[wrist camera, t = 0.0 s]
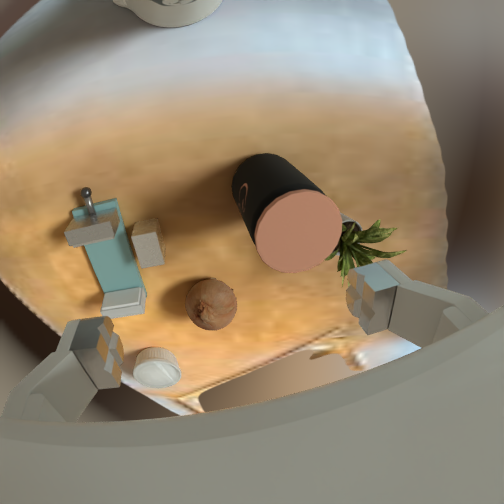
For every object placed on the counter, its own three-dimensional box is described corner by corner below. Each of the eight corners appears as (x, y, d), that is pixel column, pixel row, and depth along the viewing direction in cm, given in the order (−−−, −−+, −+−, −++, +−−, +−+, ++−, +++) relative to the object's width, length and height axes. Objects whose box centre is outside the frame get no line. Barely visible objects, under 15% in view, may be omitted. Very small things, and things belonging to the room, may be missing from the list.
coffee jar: (222, 163, 46) (243, 210, 31) (286, 143, 46) (337, 179, 31) (240, 220, 52) (267, 285, 37) (298, 200, 52) (346, 256, 37)
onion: (189, 275, 59) (170, 295, 50) (234, 268, 57) (222, 287, 48) (202, 318, 61) (186, 343, 52) (246, 312, 60) (236, 338, 50)
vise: (74, 208, 44) (62, 225, 38) (116, 198, 45) (108, 214, 40) (110, 299, 55) (105, 321, 49) (147, 293, 56) (145, 315, 51)
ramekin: (188, 353, 67) (190, 370, 63) (166, 376, 71) (167, 393, 66) (145, 337, 62) (145, 355, 58) (127, 362, 65) (125, 379, 61)
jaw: (64, 191, 40) (53, 204, 36) (108, 179, 41) (101, 191, 37) (79, 233, 45) (70, 249, 40) (121, 224, 46) (115, 239, 42)
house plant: (352, 258, 62) (392, 308, 49) (292, 260, 59) (325, 318, 45) (369, 195, 55) (422, 237, 41) (305, 191, 51) (350, 237, 38)
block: (135, 222, 48) (131, 236, 44) (157, 217, 48) (155, 231, 44) (143, 252, 51) (141, 268, 47) (165, 248, 52) (164, 264, 47)
